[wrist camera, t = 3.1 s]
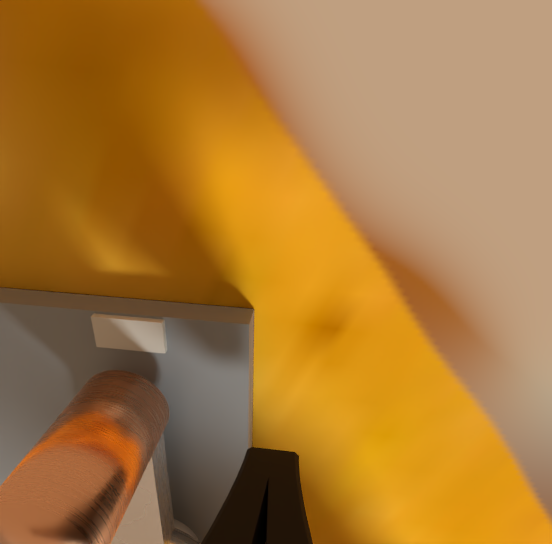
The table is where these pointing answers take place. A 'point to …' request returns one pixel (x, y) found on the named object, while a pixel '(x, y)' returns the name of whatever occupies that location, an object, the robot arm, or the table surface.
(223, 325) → the base plate
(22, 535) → the crank handle
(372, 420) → the table surface
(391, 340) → the table surface
